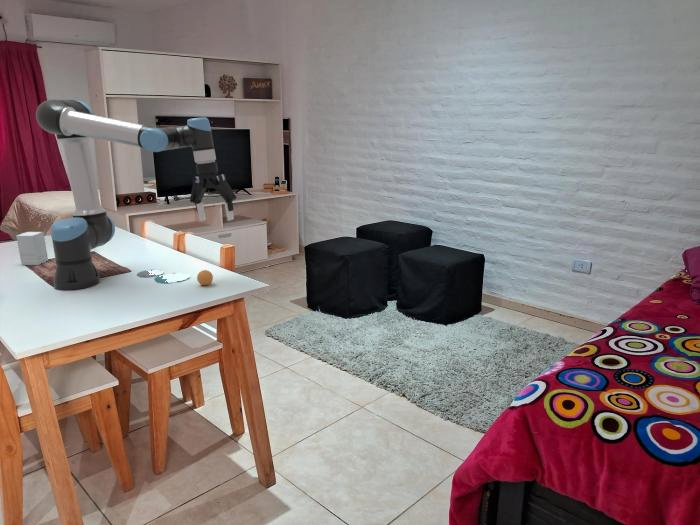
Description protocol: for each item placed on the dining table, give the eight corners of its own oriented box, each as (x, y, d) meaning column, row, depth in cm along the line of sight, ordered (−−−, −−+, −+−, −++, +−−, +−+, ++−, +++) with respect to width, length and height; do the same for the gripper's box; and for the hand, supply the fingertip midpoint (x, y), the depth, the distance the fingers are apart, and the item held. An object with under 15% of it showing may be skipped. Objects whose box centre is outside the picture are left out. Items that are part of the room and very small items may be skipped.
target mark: (171, 285, 194) (171, 284, 194) (146, 280, 200) (146, 279, 200) (197, 276, 205) (197, 275, 205) (173, 271, 211) (173, 270, 211)
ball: (205, 288, 191) (204, 273, 189) (194, 285, 193) (193, 271, 192) (216, 284, 195) (215, 269, 194) (205, 281, 198) (204, 267, 196)
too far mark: (149, 278, 202) (149, 278, 202) (131, 275, 206) (131, 274, 206) (169, 272, 210) (169, 271, 210) (152, 268, 215) (152, 268, 215)
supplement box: (49, 260, 227) (44, 231, 224) (37, 265, 220) (32, 235, 217) (32, 260, 228) (27, 231, 224) (20, 265, 221) (15, 235, 217)
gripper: (239, 158, 189) (249, 217, 195) (188, 163, 201) (198, 218, 207) (225, 161, 183) (236, 221, 188) (173, 165, 195) (184, 222, 200)
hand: (216, 220), depth 198 cm, fingers open, 13 cm apart
